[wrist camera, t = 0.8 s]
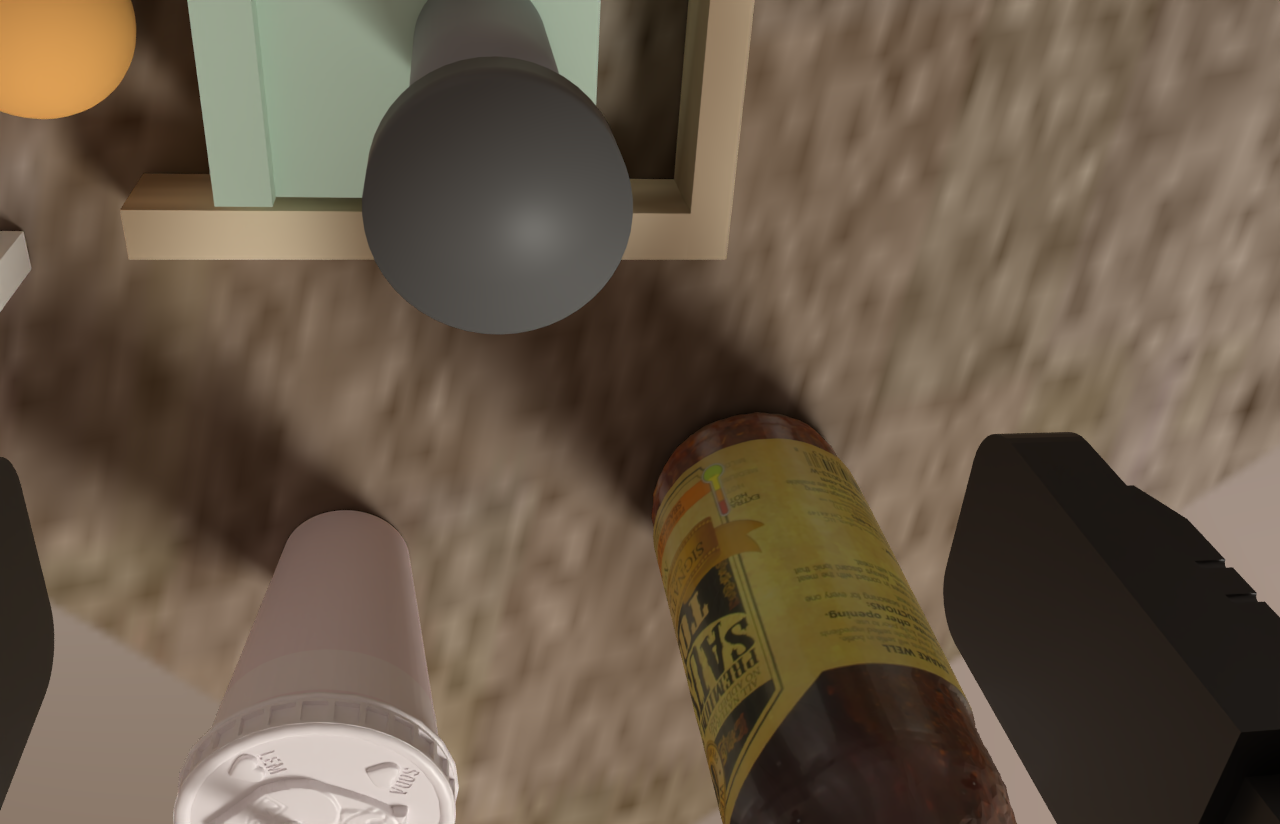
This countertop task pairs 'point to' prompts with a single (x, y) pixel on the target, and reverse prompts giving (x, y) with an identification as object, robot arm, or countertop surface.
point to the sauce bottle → (808, 641)
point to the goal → (12, 263)
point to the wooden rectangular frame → (333, 227)
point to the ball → (62, 54)
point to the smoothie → (327, 695)
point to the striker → (428, 141)
